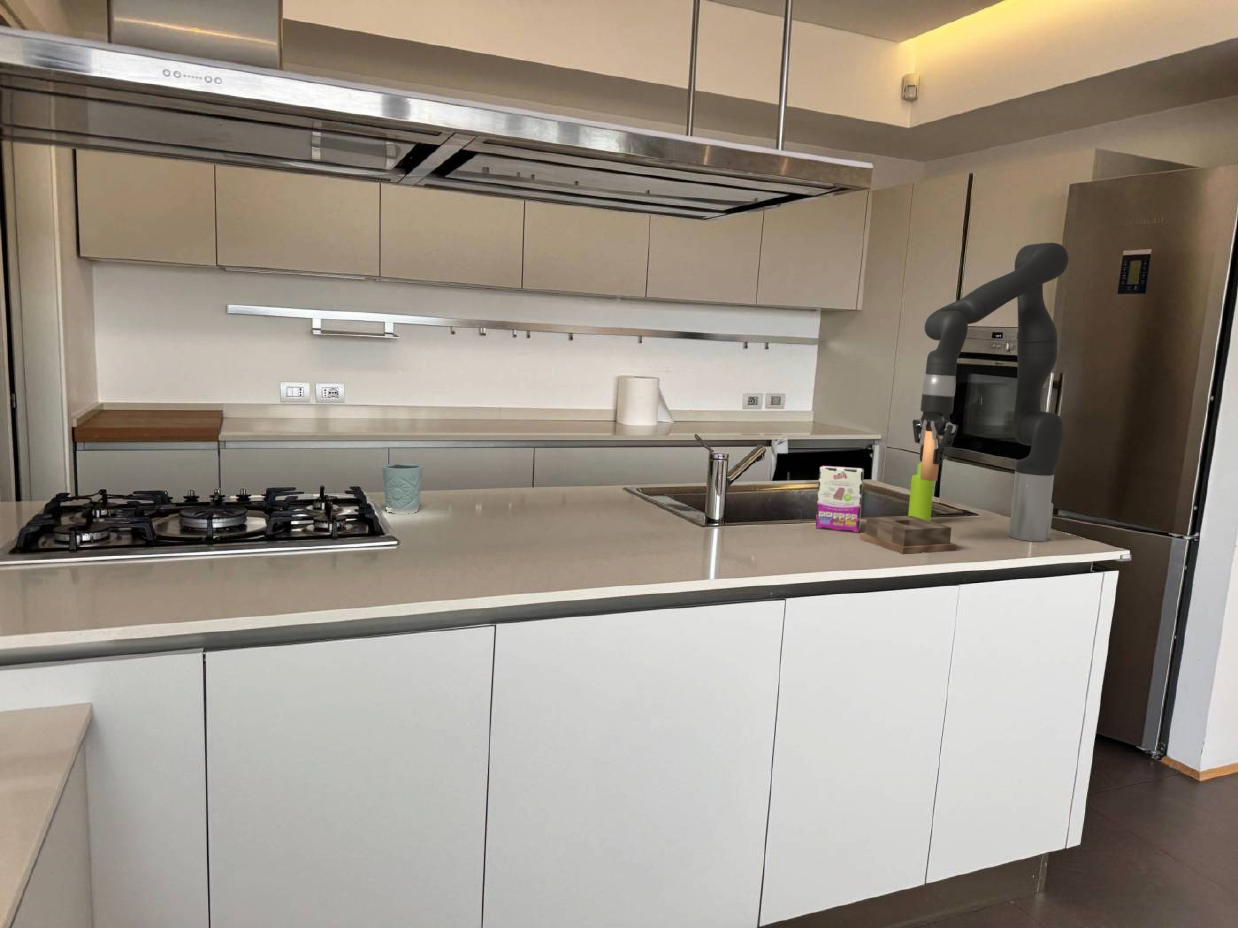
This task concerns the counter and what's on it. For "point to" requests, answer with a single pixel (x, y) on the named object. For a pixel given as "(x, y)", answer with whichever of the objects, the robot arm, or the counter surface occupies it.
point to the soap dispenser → (920, 496)
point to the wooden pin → (929, 459)
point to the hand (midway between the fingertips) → (930, 462)
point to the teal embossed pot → (402, 485)
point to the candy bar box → (839, 498)
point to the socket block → (908, 534)
